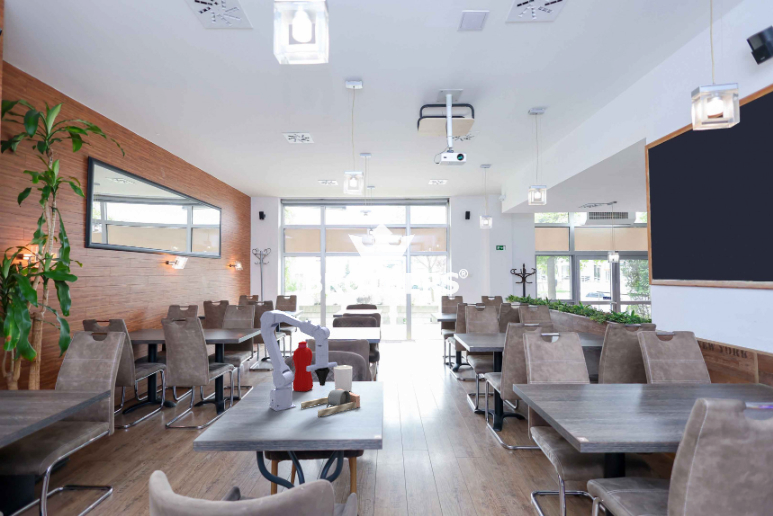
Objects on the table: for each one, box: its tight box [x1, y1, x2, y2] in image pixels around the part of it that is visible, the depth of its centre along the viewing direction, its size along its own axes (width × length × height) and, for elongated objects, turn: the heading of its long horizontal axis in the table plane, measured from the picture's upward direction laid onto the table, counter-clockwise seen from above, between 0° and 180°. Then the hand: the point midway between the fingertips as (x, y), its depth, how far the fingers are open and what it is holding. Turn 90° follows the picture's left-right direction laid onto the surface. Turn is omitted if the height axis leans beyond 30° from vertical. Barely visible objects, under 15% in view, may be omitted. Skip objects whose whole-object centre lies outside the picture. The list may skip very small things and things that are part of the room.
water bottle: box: [291, 340, 314, 393], centre depth 223 cm, size 9×11×25 cm
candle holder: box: [333, 365, 354, 392], centre depth 218 cm, size 10×10×12 cm
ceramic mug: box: [325, 389, 351, 409], centre depth 190 cm, size 11×8×8 cm
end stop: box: [337, 389, 361, 409], centre depth 196 cm, size 2×16×5 cm, turn 38°
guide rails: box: [300, 396, 357, 418], centre depth 190 cm, size 19×16×2 cm
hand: (322, 385), depth 189 cm, fingers closed
